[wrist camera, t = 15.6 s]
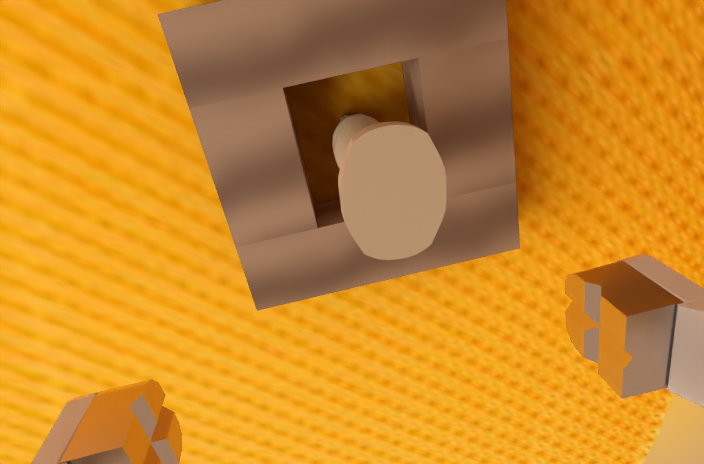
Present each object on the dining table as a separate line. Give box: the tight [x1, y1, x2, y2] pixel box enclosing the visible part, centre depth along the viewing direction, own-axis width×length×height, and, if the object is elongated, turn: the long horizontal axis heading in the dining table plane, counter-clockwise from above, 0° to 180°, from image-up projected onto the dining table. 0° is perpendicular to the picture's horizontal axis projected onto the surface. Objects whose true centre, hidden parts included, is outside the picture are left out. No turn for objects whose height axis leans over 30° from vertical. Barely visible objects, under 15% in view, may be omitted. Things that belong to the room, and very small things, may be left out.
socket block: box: [158, 0, 520, 310], centre depth 32 cm, size 20×20×5 cm
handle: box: [332, 113, 446, 260], centre depth 28 cm, size 5×6×15 cm
